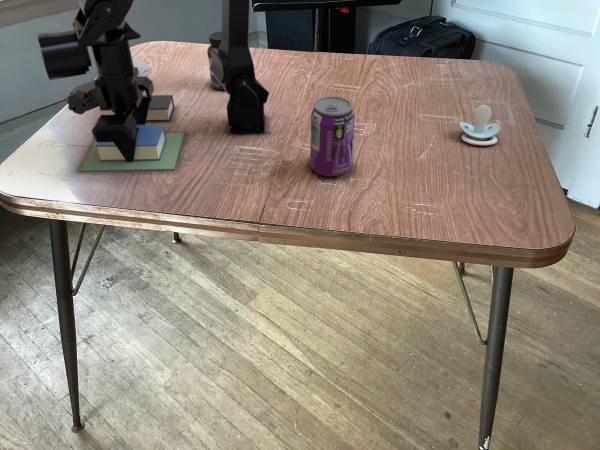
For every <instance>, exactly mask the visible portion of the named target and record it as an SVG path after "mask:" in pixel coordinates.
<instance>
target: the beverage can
mask: <svg viewBox="0 0 600 450" xmlns="http://www.w3.org/2000/svg"><path fill="white" fill-rule="evenodd" d="M353 108H354V105H353V102H352V101H351V100H350V99H348V98H346V97H343V96H340V95H327V96H322V97H319V98H318V99H316V100H315V101H314V103H313V109H312V110H311V113H310V151H309V152H310V158H309V159H310V160H309V161H310V162H309V165H310V168H311V169H312V171H314V172H315V173H317V174H318V175H323V176H327V177H328V176H329V177H337V176H341V175H344V174H347V173H348V172H349V171H350V170H351V168H352V165H353V151H354V136H355V124H356V123H355V122H356V113H355V111H354V109H353Z"/></svg>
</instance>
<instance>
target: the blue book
mask: <svg viewBox="0 0 600 450" xmlns="http://www.w3.org/2000/svg"><path fill="white" fill-rule="evenodd" d="M137 128H139V133H138V139H137V144H136V150H135V156H134V161H147V160H160V159H161V156H162V153H163V150H164V147H165V144H166V140H167V138H166V128H165V124H163V123H161V124H145V125H137ZM96 147H97V148H98V152H99V155H100V161H126V160H125V158H124V157H123V155H122V154H121V152H120V151H119V149H118V148H117V147H116V145H115V144H114V143H113V142H97V144H96Z"/></svg>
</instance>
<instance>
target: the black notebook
mask: <svg viewBox="0 0 600 450" xmlns="http://www.w3.org/2000/svg"><path fill="white" fill-rule="evenodd" d="M143 97H148V96H147V95H146V94H145V95H144V94H143ZM151 98H152V99H151V103H150V107H149V111H148V116H147V120H146V122H171V120H172V117H173V114H174V110H175V102H174V96H173V94H156V95H155V94H154V95H153V94H152V96H151ZM101 113H102V115H114V114H115V113H112V111H111V109H108V110H103V111H101Z"/></svg>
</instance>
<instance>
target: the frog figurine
mask: <svg viewBox="0 0 600 450" xmlns="http://www.w3.org/2000/svg"><path fill="white" fill-rule="evenodd" d="M132 60H133V65H134V67H138V72H139V73H138V76H137V77H144V76H146V77H147V78H149V71H150V70H151V67H150V66H149V64H147V63H146V62H144V61H142V60H139V59H137V58H134V57H133V56H132ZM149 79H150V78H149Z"/></svg>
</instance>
